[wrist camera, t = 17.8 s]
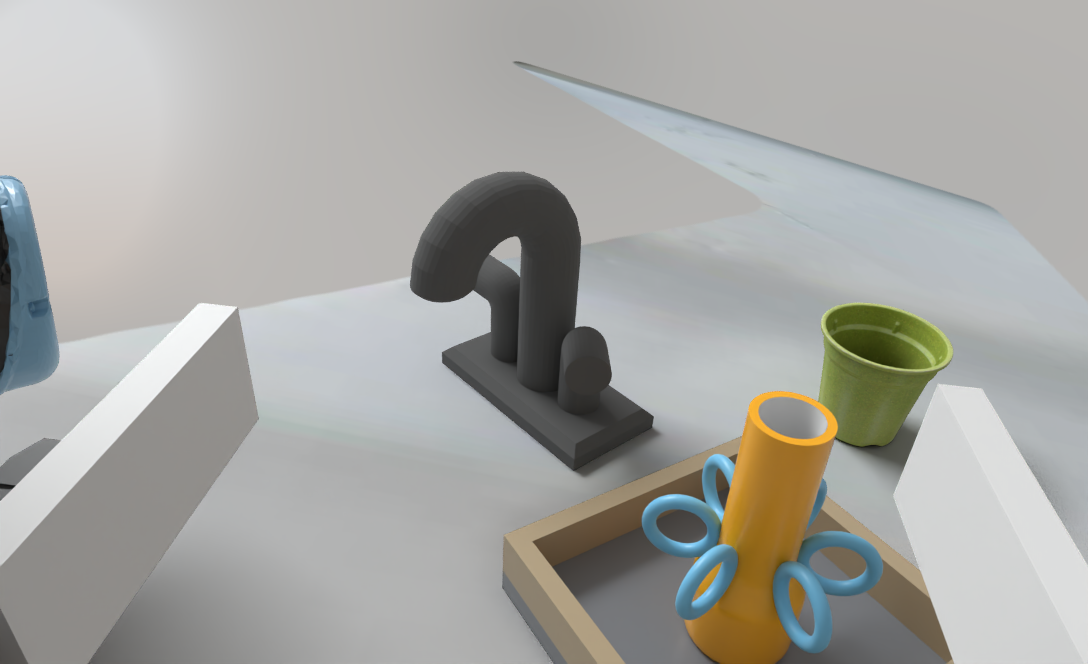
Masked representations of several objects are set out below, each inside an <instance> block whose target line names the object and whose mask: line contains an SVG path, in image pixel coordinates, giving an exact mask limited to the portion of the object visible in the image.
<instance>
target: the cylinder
mask: <svg viewBox="0 0 1088 664" xmlns="http://www.w3.org/2000/svg"><path fill="white" fill-rule="evenodd" d="M837 430H838V424H837V421H836V419H835V417H834V415H833V414H832V413H831V412H830V411H829V410H828V409H827V408H826V407H825V406H824V405H822V404H821V403H819V402H817V401H815V400H814V399H811V398H809V397H807V396H804V395H800V394H797V393H792V392H784V391H775V392H767V393H764V394H761V395H759V396H757V397H756V398H754V399H753V400H752V401H751V403H750V405H749V409H748V413H747V417H746V422H745V426H744V430H743V435H742V439H741V443H740V447H739V452H738V456H737V460H736V465H734V463H733V462H732V461H731V460H730V459H729V458H728V457H726V456H724V455H721V454H714V455H712V456H710V457H709V458H708V459H707V461H706V462H705V465H704V468H703V473H702V485H703V492H704V497H705V501H706V503H704V502H703V501H701V500H699V499H697V498H694V497H691V496H687V495H681V494H670V495H665V496H661V497H659V498H657V499H655V500H653V501H652V502H651V503H650V504H649V505H648V506H647V507H646V508H645V510H644V512H643V516H642V527H643V530H644V533H645V535H646V537H647V538H648V539H649V541H650V542H651V543H652V544H653V545H654V546H655V547H657V548H658V549H660V550H661V551H663V552H665V553H667V554H670V555H673V556H676V557H681V558H695V560H694V563H693V566H692V567H691V569H690V570H689V571H688V573H687V574H686V576H685V578H684V579H683V581H682V583H681V585H680V587H679V590H678V593H677V596H676V602H675V606H676V611H677V613H678V615H679V616H680V617H681V618H683V619H684V621H685V626H686V629H687V631H688V633H689V636H690V637H691V639H692V640H693V642H694V643H695V645H696V646H697V647H698V648H699V649H700V650H701V651H702V652H703V653H704V654H705V655H707V656H708V657H709V658H711V659H712V660H714V661H716V662H718V663H719V664H775V663H776V662H778V661H779V660H780V659H781V658H782V657H783V656H784V655H785V654H786V652H787V650H788V648H789V646H790V643H791V640H792V641H793V642H794V643H795V644H796V645H797V646H798V647H799V648H800V649H802V650H803V651H805V652H808V653H819V652H822V651H823V650H824V649H826V647H827V646H828V644H829V642H830V640H831V636H832V615H831V610H830V606H829V603H828V600H827V597H826V594H829V595H834V596H853V595H858V594H861V593H864V592H866V591H868V590H870V589H871V588H873V587H874V586H875V585H876V584H877V583H878V581H879V580H880V578H881V576H882V573H883V562H882V559H881V556H880V554H879V553H878V551H877V550H876V549H875V547H874V546H873V545H872V544H870V543H869V542H868V541H866V540H865V539H863V538H861V537H859V536H857V535H854V534H851V533H847V532H842V531H825V532H820V533H816V534H814V535H811V536H809V537H808V538H806V539H805V540H803V538H804V535H805V532H806V530H807V529H808V528H809V527H810V526H811V524H812V523H813V521H814V520H815V518H816V517H817V515H818V514H819V512H820V510H821V508H822V506H823V503H824V501H825V498H826V494H827V485H826V482H825V480H824V479H823V474H824V471H825V468H826V465H827V462H828V459H829V455H830V452H831V449H832V446H833V443H834V440H835V436H836V433H837ZM718 468H719V469H720V470H721V471H722V472H723V473H724V475H725V477H726V479H727V481H728V484H729V487H730V490H729V494H728V499H727V503H726V507H725V511H724V509H723V507H722V505H721V503H720V501H719V498H718V494H717V489H716V472H717V469H718ZM672 509H680V510H686V511H689V512H691V513H694V514H695V515H697V516H698V517H700V518H701V519H702V520H703V521H704V523H705V524H706V526H707V534H706V536H705V537H704V538H703V539H702V540H700V541H698V542H695V543H680V542H676V541H673V540H671V539H669V538H667V537H666V536H664V535H663V534H662V533H661V532H660V531H659V529H658V527H657V524H656V520H657V517H658V516H659V515H660V514H661V513H662V512H664V511H667V510H672ZM827 547H842V548H847V549H850V550H852V551H855V552H856V553H858V554H859V555H861V556H862V557H863V558H864V560H865V562H866V570H865V572H864V573H863V574H862V575H860V576H859V577H857V578H855V579H851V580H846V581H837V580H831V579H827V578H825V577H822V576H821V575H819V574H817V573H816V572H815V571H814V570H813V569H812V568H811V566H810V558H811V556H812V555H813V554H814V553H815V552H816V551H818V550H820V549H823V548H827ZM806 593H807V595H808V598H809V600H810V603H811V606H812V609H813V614H814V621H815V628H814V633H813V635H812V636H810V635H808V634H807V633H806V632H805V631H804V630H803V629H802V627H801V626H800V624H799V623H798V620H799V617H800V614H801V611H802V608H803V605H804V601H805V596H806Z"/></svg>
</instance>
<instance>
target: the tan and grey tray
mask: <svg viewBox="0 0 1088 664" xmlns="http://www.w3.org/2000/svg"><path fill="white" fill-rule="evenodd" d="M741 439H742V436H741V437H739V438H736V439H734V440H731V441H729V442H727V443H724V444H722V445H719V446H717V447H715V448H712V449H710V450H707V451H705V452H703V453H700V454H698V455H695V456H693V457H691V458H688V459H686V460H683V461H681V462H678V463H676V464H674V465H671V466H669V467H666V468H664V469H662V470H659V471H657V472H654V473H652V474H650V475H647V476H645V477H642V478H640V479H638V480H635V481H633V482H630V483H628V484H626V485H623V486H621V487H618V488H616V489H614V490H611V491H609V492H606V493H604V494H601V495H599V496H597V497H594V498H592V499H589V500H587V501H585V502H582V503H580V504H577V505H575V506H573V507H570V508H568V509H565V510H563V511H561V512H558V513H556V514H553V515H551V516H549V517H546V518H544V519H541V520H539V521H537V522H534V523H532V524H529V525H527V526H524V527H522V528H520V529H517V530H515V531H512V532H510V533H508V534H505V535H504V548H503V584H502V587H503V589H504V590H505V592H506V593H507V595H508V596H509V598H510V599H511V601H512V602H513V604H514V605H515V606H516V608H517V609H518V611H519V612H520V614H521V615H522V617H523V618H524V620H525V621H526V623H527V624H528V626H529V627H530V629H531V630H532V632H533V633H534V634H535V636H536V637H537V639H538V640H539V642H540V643H541V645H542V646H543V648H544V649H545V651H546V652H547V654H548V655H549V657H550V658H551V660H552V661H553V662H554V664H719V663H718V662H716V661H714V660H712V659H711V658H709V657H708V656H707V655H705V654H704V653H703V652H702V651H701V650H700V649H699V648H698V647H697V646H696V645H695V643H694V642H693V640H692V639H691V637H690V636H689V633H688V631H687V629H686V626H685V621H684V619H683V618H681V617H680V616H679V615H678V613H677V611H676V606H675V602H676V596H677V593H678V590H679V587H680V585H681V583H682V581H683V579H684V578H685V576H686V574H687V573H688V571H689V570H690V569H691V567H692V566H693V563H694V560H695V558H681V557H676V556H673V555H670V554H667V553H665V552H663V551H661V550H660V549H658V548H657V547H655V546H654V545H653V544H652V543H651V542H650V541H649V539H648V538H647V537H646V535H645V533H644V530H643V527H642V516H643V512H644V510H645V508H646V507H647V506H648V505H649V504H650V503H651V502H652V501H653V500H655V499H657V498H659V497H661V496H665V495H670V494H681V495H687V496H691V497H694V498H697V499H699V500H701V501H703V502H704V503H706V501H705V497H704V492H703V485H702V473H703V468H704V465H705V462H706V461H707V459H708V458H709V457H710V456H712V455H714V454H721V455H724V456H726V457H728V458H729V459H730V460H731V461H732V462H733V463H734V465H736V460H737V456H738V452H739V447H740V443H741ZM716 489H717V494H718V498H719V501H720V503H721V505H722V507H723V509H724V511H725V507H726V503H727V499H728V494H729V490H730V487H729V484H728V481H727V479H726V477H725V475H724V473H723V472H722V471H721V470H720V469H719V468H718V469H717V472H716ZM656 524H657V527H658V529H659V531H660V532H661V533H662V534H663V535H664V536H666V537H667V538H669V539H671V540H673V541H676V542H680V543H695V542H698V541H700V540H702V539H703V538H704V537H705V536H706V534H707V526H706V524H705V523H704V521H703V520H702V519H701V518H700V517H698V516H697V515H695V514H694V513H691V512H689V511H686V510H680V509H672V510H667V511H664V512H662V513H661V514H660V515H659V516H658V517H657V520H656ZM825 531H842V532H847V533H851V534H854V535H857V536H859V537H861V538H863V539H865V540H866V541H868V542H869V543H870V544H872V545H873V546H874V547H875V549H876V550H877V551H878V553H879V554H880V556H881V559H882V562H883V573H882V576H881V578H880V580H879V581H878V583H877V584H876V585H875V586H874V587H873V588H871V589H870V590H868V591H866V592H864V593H861V594H858V595H853V596H834V595H829V594H826V597H827V600H828V603H829V606H830V610H831V615H832V636H831V640H830V642H829V644H828V646H827V647H826V649H824V650H823V651H822V652H819V653H808V652H805V651H803V650H802V649H800V648H799V647H798V646H797V645H796V644H795V643H794V642H793V641H792V640H791V643H790V646H789V648H788V650H787V652H786V654H785V655H784V656H783V657H782V658H781V659H780V660H779V661H778V662H776V663H775V664H954V662H953V659H952V656H951V653H950V651H949V648H948V645H947V642H946V640H945V637H944V634H943V631H942V629H941V626H940V623H939V620H938V618H937V615H936V612H935V609H934V607H933V604H932V601H931V598H930V596H929V593H928V590H927V587H926V585H925V582H924V579H923V576H922V574H921V571H920V570H919V569H917V568H916V567H915V566H914V565H912V564H911V563H910V562H909V561H907V560H906V559H905V558H904V557H902V556H901V555H900V554H899V553H897V552H896V551H895V550H894V549H892V548H891V547H890V546H889V545H887V544H886V543H885V542H884V541H882V540H881V539H880V538H879V537H877V536H876V535H875V534H874V533H872V532H871V531H870V530H869V529H867V528H866V527H865V526H864V525H863V524H861V523H860V522H859V521H858V520H856V519H855V518H854V517H853V516H851V515H850V514H849V513H848V512H846V511H845V510H844V509H843V508H841V507H840V506H839V505H838V504H836V503H835V502H834V501H833V500H831V499H830V498H829V497H828V496H826V498H825V501H824V503H823V506H822V508H821V510H820V512H819V514H818V515H817V517H816V518H815V520H814V521H813V523H812V524H811V526H810V527H809V528H808V529H807V530H806V532H805V535H804V538H803V540H805V539H806V538H808V537H809V536H811V535H814V534H816V533H820V532H825ZM810 566H811V568H812V569H813V570H814V571H815V572H816V573H817V574H819V575H821V576H822V577H825V578H827V579H831V580H837V581H846V580H851V579H855V578H857V577H859V576H860V575H862V574H863V573H864V572H865V570H866V562H865V560H864V558H863V557H862V556H861V555H859V554H858V553H856V552H855V551H852V550H850V549H847V548H842V547H827V548H823V549H820V550H818V551H816V552H815V553H814V554H813V555H812V556H811V558H810ZM798 623H799V624H800V626H801V627H802V629H803V630H804V631H805V632H806V633H807V634H808V635H810V636H812V635H813V633H814V628H815V621H814V614H813V609H812V606H811V603H810V600H809V598H808V595H807V593H806V596H805V601H804V605H803V608H802V611H801V614H800V617H799V620H798Z"/></svg>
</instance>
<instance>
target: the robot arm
mask: <svg viewBox="0 0 1088 664" xmlns="http://www.w3.org/2000/svg"><path fill="white" fill-rule="evenodd" d="M58 363H59V346H58V340H57V335H56V329H55V324H54V319H53V314H52V309H51V305H50V302H49V293H48V289H47V282H46V276H45V271H44V267H43V261H42V257H41V252H40V248H39V243H38V238H37V233H36V228H35V224H34V219H33V215H32V211H31V206H30V202H29V198H28V194H27V191H26V190H25V187H24V185H23V184H22V182H21V181H20V180H18V179H17V178H15V177H12V176H6V175H5V176H0V395H1V394H2V393H4V392H6V391H10V390H13V389H17V388H21V387H25V386H29V385H33V384H36V383H39V382H41V381H43V380H45V379H47V378H48V377H49V376H50V375H52V373H53V372H54V371H55V369H56V368H57V366H58ZM258 419H259V417H258V412H257V407H256V402H255V396H254V391H253V386H252V380H251V375H250V370H249V365H248V359H247V354H246V349H245V343H244V338H243V333H242V328H241V322H240V317H239V312H238V307H231V306H223V305H213V304H205V303H199V304H198V305H197V306H196V307H195V308H194V309H193V310H192V311H191V312H190V313H189V314H188V315H187V316H186V317H185V318H184V319H183V320H182V321H181V322H180V323H179V324H178V325H177V326H176V327H175V328H174V329H173V330H172V331H171V332H170V333H169V334H168V335H167V336H166V337H165V338H164V339H163V340H162V341H161V342H160V343H159V344H158V345H157V346H156V347H155V348H154V349H153V350H152V351H151V352H150V353H149V354H148V355H147V356H146V357H145V358H144V359H143V360H142V361H141V362H140V363H139V364H138V365H137V366H136V367H135V368H134V369H133V370H132V371H131V372H130V373H129V374H128V375H127V376H126V377H125V378H124V379H123V380H122V381H121V382H120V383H119V384H118V385H117V386H116V387H115V388H114V389H113V390H112V391H111V392H110V393H109V394H108V395H107V396H106V397H105V398H104V399H103V400H102V401H101V402H100V403H98V404H97V405H96V406H95V407H94V408H93V409H92V410H91V411H90V412H89V413H88V414H87V415H86V416H85V417H84V418H83V419H82V420H81V421H80V422H79V423H78V424H77V425H76V426H75V427H74V428H73V429H72V430H71V431H70V432H69V433H68V434H67V435H66V436H65V437H64V438H63V439H62V440H55V439H47V438H44V439H42V440H40V441H38V442H37V443H35V444H33V445H31V446H30V447H28V448H26V449H24V450H23V451H21V452H19V453H17V454H16V455H14V456H12V457H10V458H9V459H8V460H7V461H6V462H5V463H4V464H3V465H2V466H1V467H0V664H88V663H89V661H90V660H91V658H92V657H93V655H94V654H95V653H96V651H97V650H98V648H99V647H100V645H101V644H102V642H103V641H104V640H105V638H106V637H107V635H108V634H109V632H110V631H111V630H112V628H113V627H114V625H115V624H116V622H117V621H118V620H119V618H120V617H121V615H122V614H123V612H124V611H125V610H126V608H127V607H128V605H129V604H130V602H131V601H132V600H133V598H134V597H135V595H136V594H137V592H138V591H139V589H140V588H141V587H142V585H143V584H144V582H145V581H146V579H147V578H148V577H149V575H150V574H151V572H152V571H153V569H154V568H155V567H156V565H157V564H158V562H159V561H160V559H161V558H162V557H163V555H164V554H165V552H166V551H167V549H168V548H169V547H170V545H171V544H172V542H173V541H174V539H175V538H176V537H177V535H178V534H179V532H180V531H181V529H182V528H183V526H184V525H185V524H186V522H187V521H188V519H189V518H190V516H191V515H192V514H193V512H194V511H195V509H196V508H197V506H198V505H199V504H200V502H201V501H202V499H203V498H204V496H205V495H206V494H207V492H208V491H209V489H210V488H211V486H212V485H213V484H214V482H215V481H216V479H217V478H218V476H219V475H220V474H221V472H222V471H223V469H224V468H225V466H226V465H227V463H228V462H229V461H230V459H231V458H232V456H233V455H234V453H235V452H236V451H237V449H238V448H239V446H240V445H241V443H242V442H243V441H244V439H245V438H246V436H247V435H248V433H249V432H250V431H251V429H252V428H253V426H254V425H255V423H256V422H257V421H258ZM893 497H894V499H895V502H896V505H897V508H898V510H899V513H900V516H901V519H902V521H903V524H904V527H905V530H906V532H907V535H908V538H909V541H910V543H911V546H912V549H913V552H914V554H915V557H916V560H917V563H918V565H919V568H920V571H921V574H922V576H923V579H924V582H925V585H926V587H927V590H928V593H929V596H930V598H931V601H932V604H933V607H934V609H935V612H936V615H937V618H938V620H939V623H940V626H941V629H942V631H943V634H944V637H945V640H946V642H947V645H948V648H949V651H950V653H951V656H952V659H953V662H954V664H1088V565H1087V563H1086V562H1085V560H1084V558H1083V557H1082V555H1081V553H1080V552H1079V550H1078V548H1077V547H1076V545H1075V543H1074V542H1073V540H1072V538H1071V537H1070V535H1069V533H1068V532H1067V530H1066V528H1065V527H1064V525H1063V523H1062V522H1061V520H1060V518H1059V517H1058V515H1057V513H1056V512H1055V510H1054V508H1053V507H1052V505H1051V503H1050V502H1049V500H1048V498H1047V497H1046V495H1045V493H1044V492H1043V490H1042V488H1041V487H1040V485H1039V483H1038V482H1037V480H1036V478H1035V477H1034V475H1033V473H1032V471H1031V470H1030V468H1029V466H1028V465H1027V463H1026V461H1025V460H1024V458H1023V456H1022V455H1021V453H1020V451H1019V450H1018V448H1017V446H1016V445H1015V443H1014V441H1013V440H1012V438H1011V436H1010V435H1009V433H1008V431H1007V430H1006V428H1005V426H1004V425H1003V423H1002V421H1001V420H1000V418H999V416H998V415H997V413H996V411H995V410H994V408H993V406H992V405H991V403H990V401H989V400H988V398H987V396H986V395H985V393H984V391H983V390H982V389H980V388H971V387H962V386H953V385H943V384H938V385H937V387H936V390H935V392H934V395H933V397H932V400H931V402H930V405H929V407H928V410H927V412H926V415H925V417H924V420H923V422H922V425H921V427H920V430H919V432H918V435H917V437H916V440H915V442H914V445H913V447H912V450H911V452H910V455H909V457H908V460H907V462H906V465H905V467H904V470H903V472H902V475H901V477H900V480H899V482H898V485H897V487H896V490H895V492H894V495H893Z"/></svg>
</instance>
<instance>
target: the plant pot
mask: <svg viewBox="0 0 1088 664" xmlns="http://www.w3.org/2000/svg"><path fill="white" fill-rule="evenodd" d="M821 330H822V333H823V335H824V347H825V355H824V363H823V370H822V378H821V385H820V393H819V400H818V402H819V403H821V404H822V405H824V406H825V407H826V408H827V409H828V410H829V411H830V412H831V413H832V414H833V415H834V417H835V419H836V421H837V424H838V430H837V433H836V436H835V437H836V438H838V439H840V440H842V441H844V442H846V443H849V444H852V445H856V446H861V447H864V446H868V445H879V446H884V445H886V444H888V443H890V442H891V441H892V440H893V439H894V437H895V436H896V434H897V432H898V431H899V429H900V427H901V426H902V424H903V422H904V421H905V419H906V417H907V415H908V414H909V412H910V411H911V409H912V407H913V406H914V404H915V402H916V401H917V399H918V397H919V396H920V394H921V392H922V391H923V389H924V388H925V386H926V384H927V383H928V381H930V380H931V379H932V378H934V376H935V375H936V374H937V372H938V371H940V370H942V369H944V368H945V367H946V366H947V365H948V364H949V363H950V361H951V359H952V357H953V347H952V345H951V343H950V341H949V339H948V338H947V337H946V336H945V334H944V333H943V332H942V331H940V330H939V329H938V328H937V327H935V326H934V325H932V324H931V323H929V322H928V321H926V320H924V319H922V318H920V317H918V316H916V315H914V314H912V313H909V312H906V311H904V310H900V309H898V308H894V307H890V306H885V305H879V304H872V303H849V304H843V305H839V306H836V307H833V308H831V309H829V310H828V311H827V312H826V313H825V314H824V315H823V317H822V321H821Z"/></svg>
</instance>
